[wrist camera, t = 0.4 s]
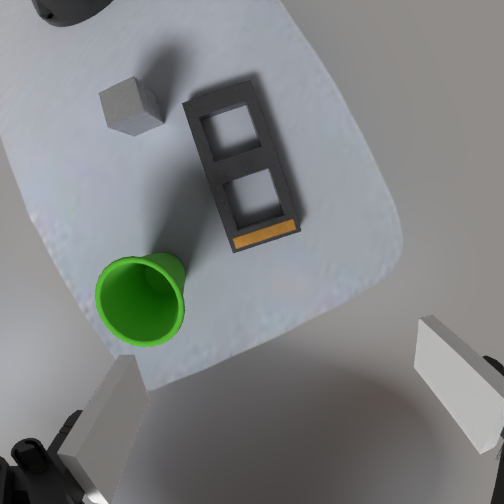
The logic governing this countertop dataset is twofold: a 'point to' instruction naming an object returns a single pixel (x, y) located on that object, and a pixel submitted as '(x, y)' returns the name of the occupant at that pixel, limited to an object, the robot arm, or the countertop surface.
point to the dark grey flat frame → (241, 166)
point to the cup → (142, 298)
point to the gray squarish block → (130, 107)
